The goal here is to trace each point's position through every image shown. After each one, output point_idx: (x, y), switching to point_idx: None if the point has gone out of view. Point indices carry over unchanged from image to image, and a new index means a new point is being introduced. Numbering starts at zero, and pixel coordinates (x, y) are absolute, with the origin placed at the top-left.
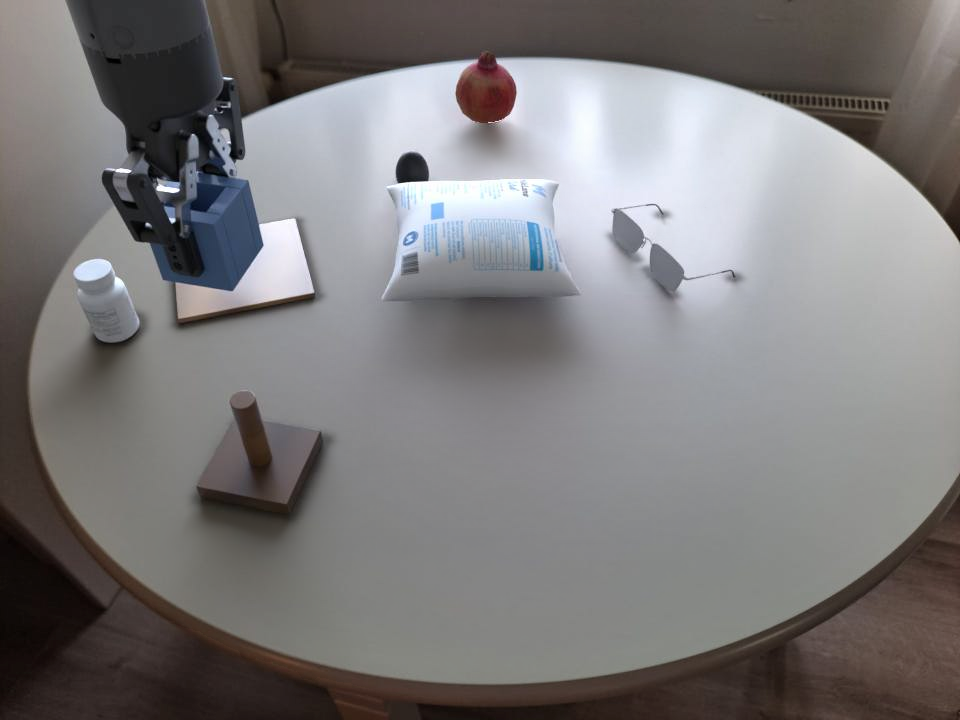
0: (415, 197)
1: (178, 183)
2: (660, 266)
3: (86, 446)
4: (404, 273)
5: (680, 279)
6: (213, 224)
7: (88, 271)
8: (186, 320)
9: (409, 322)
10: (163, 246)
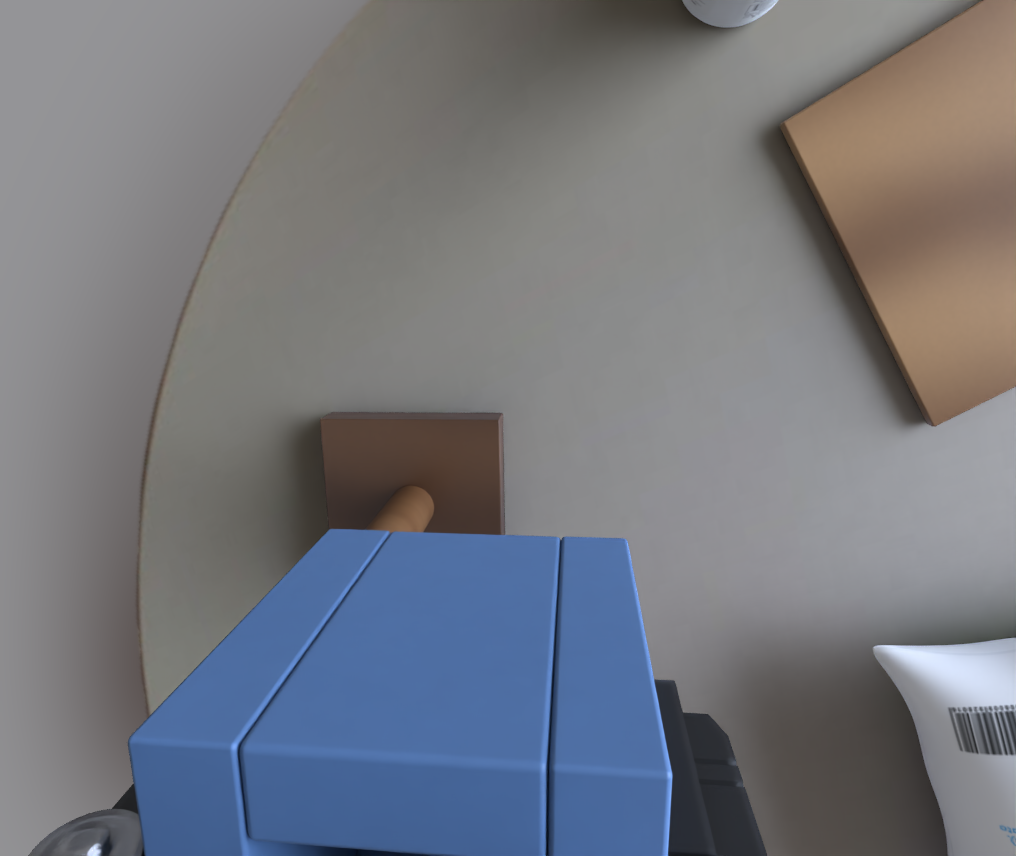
0: None
1: (505, 840)
2: None
3: (373, 125)
4: (955, 716)
5: None
6: None
7: None
8: (788, 142)
9: (863, 650)
10: (126, 796)
